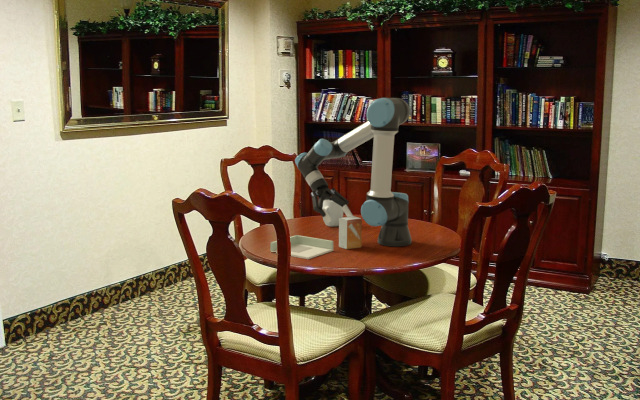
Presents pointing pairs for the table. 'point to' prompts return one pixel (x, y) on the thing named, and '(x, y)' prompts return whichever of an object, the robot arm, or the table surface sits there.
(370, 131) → the robot arm
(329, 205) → the mug
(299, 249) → the tray
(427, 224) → the table surface
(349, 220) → the small box
